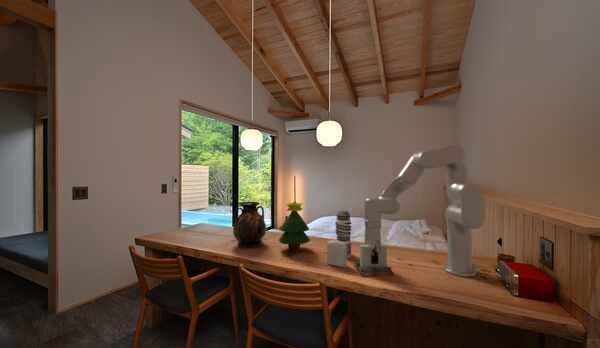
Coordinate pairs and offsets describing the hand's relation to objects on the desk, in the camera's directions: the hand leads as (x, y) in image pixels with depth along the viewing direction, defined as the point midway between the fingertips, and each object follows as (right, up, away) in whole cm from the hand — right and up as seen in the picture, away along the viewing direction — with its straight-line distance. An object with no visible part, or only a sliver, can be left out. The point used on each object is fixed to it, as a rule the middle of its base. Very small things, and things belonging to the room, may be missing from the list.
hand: (373, 261), depth 111 cm
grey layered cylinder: (-10, -5, +22) cm, 24 cm away
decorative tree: (-39, -5, +31) cm, 50 cm away
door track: (0, -4, 0) cm, 4 cm away
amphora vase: (-68, -5, +42) cm, 80 cm away
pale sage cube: (0, -2, 0) cm, 2 cm away
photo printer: (-16, -5, +7) cm, 19 cm away
